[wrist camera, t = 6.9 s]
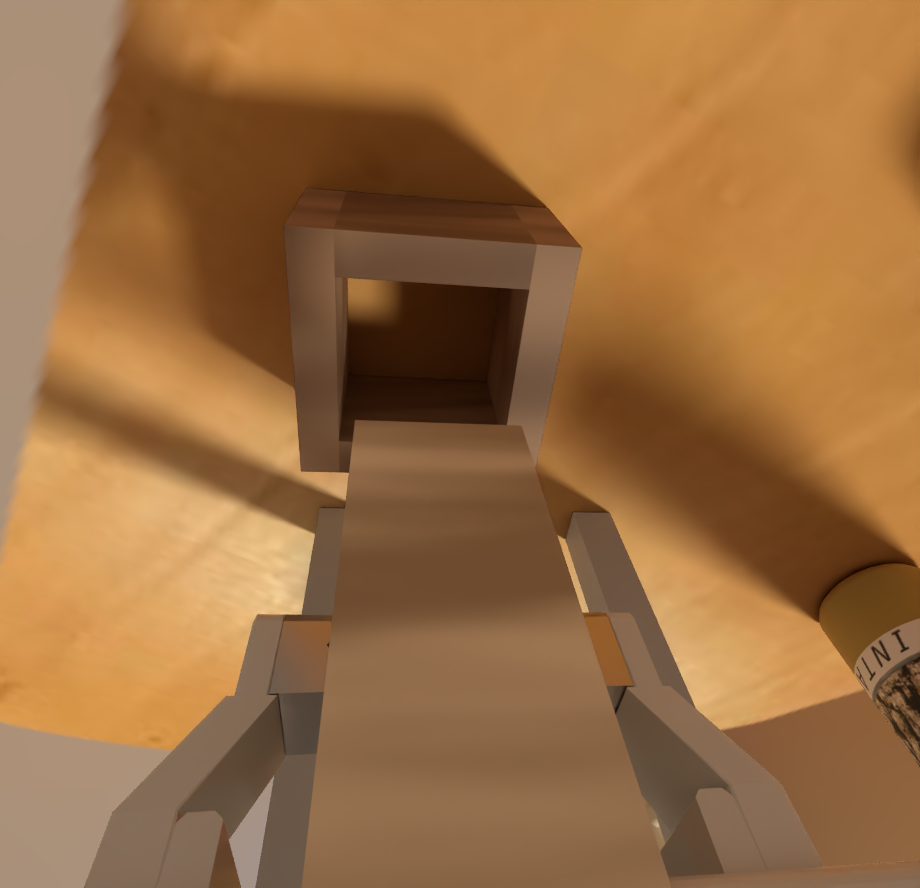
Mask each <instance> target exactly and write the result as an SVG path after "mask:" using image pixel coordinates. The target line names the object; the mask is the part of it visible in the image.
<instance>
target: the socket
mask: <svg viewBox="0 0 920 888" xmlns="http://www.w3.org/2000/svg"><path fill="white" fill-rule="evenodd" d="M283 227H284V241H285V255H286V269H287V283H288V297H289V311H290V325H291V339H292V353H293V367H294V381H295V395H296V409H297V423H298V437H299V451H300V465H301V471H304V472H345V473H349V469H350V460H351V451H352V443H353V434H354V425H355V420H368V421H397V422H427V423H456V424H486V425H516V426H522V429H523V432H524V435H525V438H526V441H527V444H528V447H529V450H530V453H531V456H532V459H533V462H534V465H535V469H536V465H537V460H538V455H539V451H540V446H541V441H542V436H543V432H544V427H545V422H546V417H547V413H548V408H549V403H550V398H551V394H552V389H553V384H554V379H555V375H556V370H557V365H558V360H559V356H560V351H561V346H562V341H563V337H564V332H565V327H566V322H567V318H568V313H569V308H570V303H571V299H572V294H573V289H574V284H575V280H576V275H577V270H578V265H579V261H580V256H581V251H582V247H581V246H580V245H579V244H578V242H577V241H576V240H575V239H574V238H573V237H572V235H571V234H570V233H569V232H568V231H567V229H566V228H565V227H564V226H563V225H562V224H561V222H560V221H559V220H558V219H557V218H556V217H555V215H554V214H553V213H552V212H551V211H550V210H549V208H542V207H530V206H518V205H506V204H494V203H482V202H470V201H457V200H445V199H433V198H421V197H409V196H397V195H385V194H373V193H361V192H348V191H336V190H324V189H312V188H306V189H305V191H304V192H303V194H302V196H301V197H300V199H299V201H298V202H297V204H296V206H295V207H294V209H293V211H292V212H291V214H290V216H289V217H288V219H287V220H286V222H285V224H284V225H283ZM347 278H357V279H372V280H388V281H403V282H418V283H434V284H449V285H465V286H480V287H496V288H500V290H499V298H498V305H497V312H496V319H495V327H494V334H493V341H492V348H491V356H490V363H489V370H488V377H487V381H468V380H446V379H423V378H401V377H378V376H356V375H349V363H348V282H347Z"/></svg>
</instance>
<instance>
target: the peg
mask: <svg viewBox="0 0 920 888" xmlns="http://www.w3.org/2000/svg"><path fill="white" fill-rule="evenodd" d="M302 888H672V887H671V884H670V881H669V878H668V875H667V872H666V868H665V865H664V862H663V859H662V856H661V853H660V850H659V847H658V844H657V841H656V838H655V835H654V832H653V829H652V825H651V822H650V819H649V816H648V813H647V810H646V807H645V804H644V801H643V798H642V795H641V792H640V789H639V785H638V782H637V779H636V776H635V773H634V770H633V767H632V764H631V761H630V758H629V755H628V752H627V749H626V745H625V742H624V739H623V736H622V733H621V730H620V727H619V724H618V721H617V718H616V715H615V712H614V709H613V705H612V702H611V699H610V696H609V693H608V690H607V687H606V684H605V681H604V678H603V675H602V672H601V669H600V665H599V662H598V659H597V656H596V653H595V650H594V647H593V644H592V641H591V638H590V635H589V632H588V629H587V625H586V622H585V619H584V616H583V613H582V610H581V607H580V604H579V601H578V598H577V595H576V592H575V589H574V585H573V582H572V579H571V576H570V573H569V570H568V567H567V564H566V561H565V558H564V555H563V552H562V549H561V545H560V542H559V539H558V536H557V533H556V530H555V527H554V524H553V521H552V518H551V515H550V512H549V509H548V505H547V502H546V499H545V496H544V493H543V490H542V487H541V484H540V481H539V478H538V475H537V472H536V469H535V465H534V462H533V459H532V456H531V453H530V450H529V447H528V444H527V441H526V438H525V435H524V432H523V429H522V426H516V425H486V424H456V423H427V422H397V421H368V420H355V425H354V434H353V443H352V451H351V460H350V469H349V478H348V486H347V495H346V504H345V512H344V521H343V530H342V539H341V547H340V556H339V565H338V574H337V582H336V591H335V600H334V608H333V617H332V626H331V635H330V643H329V652H328V661H327V670H326V678H325V687H324V696H323V704H322V713H321V722H320V731H319V739H318V748H317V757H316V765H315V774H314V783H313V792H312V800H311V809H310V818H309V827H308V835H307V844H306V853H305V861H304V870H303V879H302Z"/></svg>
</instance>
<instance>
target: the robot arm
mask: <svg viewBox="0 0 920 888" xmlns="http://www.w3.org/2000/svg"><path fill="white" fill-rule="evenodd" d="M583 616H584V619H585V622H586V625H587V629H588V632H589V635H590V638H591V641H592V644H593V647H594V650H595V653H596V656H597V659H598V662H599V665H600V669H601V672H602V675H603V678H604V681H605V684H606V687H607V690H608V693H609V696H610V699H611V702H612V705H613V709H614V712H615V715H616V718H617V721H618V724H619V727H620V730H621V733H622V736H623V739H624V742H625V745H626V749H627V752H628V755H629V758H630V761H631V764H632V767H633V770H634V773H635V776H636V779H637V782H638V785H639V789H640V792H641V795H642V796H643V798H644V799H645V800H646V801H647V803H648V804H649V805H650V806H651V808H652V809H653V810H654V811H655V812H656V814H657V815H658V816H659V817H660V819H661V820H662V821H663V822H664V824H665V825H666V826H667V827H668V828H669V830H670V831H671V832H672V833H671V835H670V837H669V838H668V840H667V841H666V843H665V845H664V846H663V848H662V849H661V851H660V853H661V856H662V859H663V862H664V865H665V868H666V872H667V875H668V878H669V881H670V884H671V887H672V888H920V861H906V862H892V863H876V864H860V865H845V866H830V867H824V865H823V864H822V861H821V860H820V858H819V856H818V854H817V852H816V850H815V848H814V846H813V844H812V842H811V840H810V838H809V836H808V834H807V833H806V831H805V829H804V827H803V825H802V823H801V821H800V819H799V817H798V815H797V813H796V811H795V809H794V807H793V806H792V804H791V802H790V800H789V798H788V796H787V794H786V792H785V790H784V788H783V786H782V784H781V783H780V782H779V781H778V780H777V779H775V778H774V777H773V776H772V775H771V774H770V773H769V772H767V771H766V770H765V769H764V768H763V767H762V766H761V765H759V764H758V763H757V762H756V761H755V760H754V759H753V758H751V757H750V756H749V755H748V754H747V753H746V752H745V751H743V750H742V749H741V748H740V747H739V746H738V745H737V744H735V743H734V742H733V741H732V740H731V739H730V738H729V737H728V736H726V735H725V734H724V733H723V732H722V731H721V730H720V729H718V728H717V727H716V726H715V725H714V724H713V723H712V722H710V721H709V720H708V719H707V718H706V717H705V716H704V715H702V714H701V713H700V712H699V711H698V710H697V709H696V708H694V707H693V706H692V705H691V704H690V703H689V702H688V701H686V700H685V699H684V698H683V697H682V696H681V695H680V694H678V693H677V692H676V691H675V690H674V689H673V688H672V687H670V686H662V683H661V681H660V679H659V676H658V674H657V672H656V669H655V667H654V664H653V662H652V660H651V657H650V655H649V653H648V650H647V648H646V645H645V643H644V641H643V638H642V636H641V634H640V631H639V629H638V626H637V624H636V622H635V619H634V617H633V616H632V615H631V614H630V613H602V612H589V613H583ZM332 617H333V615H268V614H257V616H256V618H255V620H254V622H253V625H252V629H251V633H250V637H249V641H248V645H247V649H246V653H245V657H244V661H243V665H242V669H241V673H240V677H239V680H238V684H237V688H236V692H235V696H226V697H225V698H224V699H223V700H222V701H221V702H220V703H219V704H218V705H217V706H216V707H215V708H214V709H213V710H212V711H211V712H210V713H209V714H208V715H207V716H206V717H205V718H204V719H203V720H202V721H201V722H200V723H199V724H198V725H197V726H196V727H195V728H194V729H193V730H192V731H191V732H190V734H189V735H188V736H187V737H186V738H185V739H184V740H183V741H182V742H181V743H180V744H179V745H178V746H177V747H176V748H175V749H174V750H173V751H172V752H171V753H170V754H169V755H168V756H167V757H166V758H165V759H164V760H163V762H161V763H160V764H159V765H158V766H157V768H155V769H154V770H153V771H152V772H151V774H150V775H149V776H148V777H147V778H146V779H145V780H144V781H143V782H142V783H141V784H140V785H139V786H138V787H137V788H136V789H135V790H134V791H133V792H132V793H131V794H130V795H129V796H128V797H127V798H126V799H125V800H124V801H123V802H122V803H121V804H120V805H119V806H118V807H117V808H116V810H114V811H113V812H112V815H111V818H110V820H109V823H108V825H107V828H106V831H105V833H104V836H103V839H102V841H101V844H100V847H99V849H98V852H97V855H96V858H95V860H94V862H93V865H92V868H91V871H90V873H89V876H88V878H87V881H86V884H85V886H84V888H241V885H240V881H239V878H238V874H237V870H236V866H235V862H234V858H233V855H232V851H231V847H230V843H229V839H230V837H231V836H232V834H233V833H234V832H235V830H236V829H237V827H238V826H239V824H240V823H241V822H242V820H243V819H244V817H245V816H246V814H247V813H248V812H249V810H250V809H251V807H252V806H253V804H254V803H255V802H256V800H257V799H258V797H259V796H260V794H261V793H262V792H263V790H264V789H265V787H266V786H267V784H268V783H269V782H270V780H271V779H272V777H273V776H274V775H275V773H276V772H277V770H278V769H279V767H280V766H281V765H282V763H283V762H284V760H285V756H286V755H302V754H317V748H318V739H319V731H320V722H321V713H322V704H323V696H324V687H325V678H326V670H327V661H328V652H329V643H330V635H331V626H332Z"/></svg>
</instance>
